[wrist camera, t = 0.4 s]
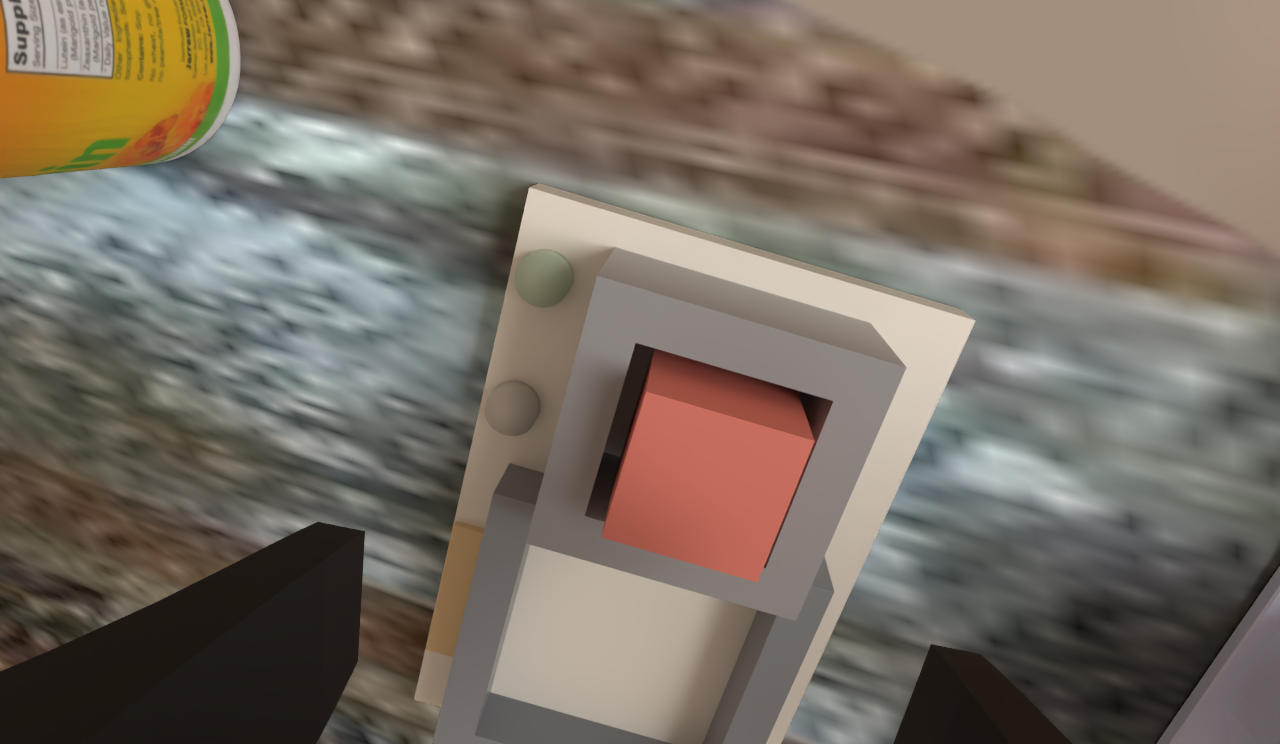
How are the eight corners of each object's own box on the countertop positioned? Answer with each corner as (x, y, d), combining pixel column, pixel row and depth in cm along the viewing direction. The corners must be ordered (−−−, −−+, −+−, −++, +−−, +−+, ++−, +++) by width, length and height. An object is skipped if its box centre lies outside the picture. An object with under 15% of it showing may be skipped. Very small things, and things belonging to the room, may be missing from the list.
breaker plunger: (793, 381, 15) (814, 441, 13) (747, 501, 16) (757, 582, 14) (656, 340, 15) (646, 391, 13) (618, 464, 16) (600, 537, 14)
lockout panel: (960, 308, 17) (1034, 364, 13) (754, 767, 22) (765, 903, 18) (538, 183, 17) (492, 203, 13) (426, 673, 22) (368, 792, 18)
